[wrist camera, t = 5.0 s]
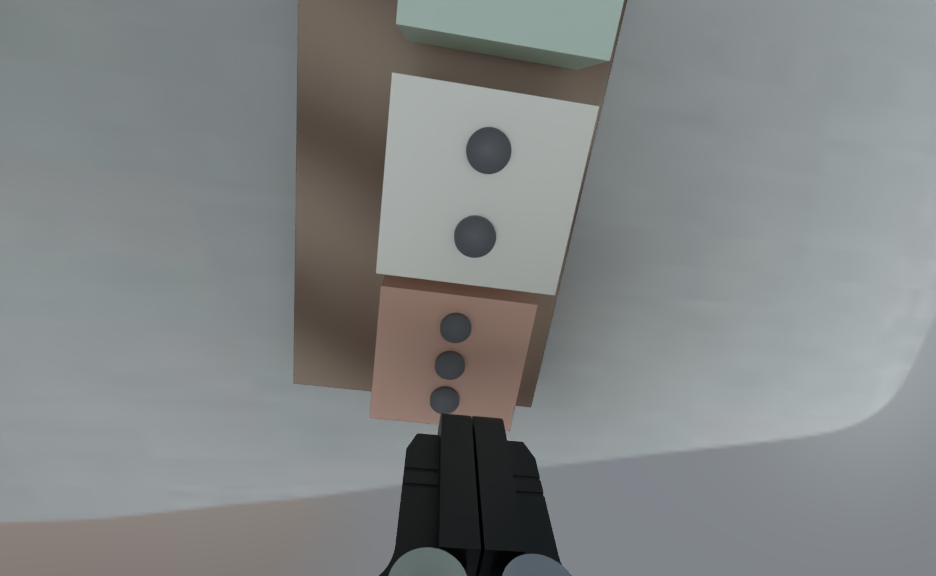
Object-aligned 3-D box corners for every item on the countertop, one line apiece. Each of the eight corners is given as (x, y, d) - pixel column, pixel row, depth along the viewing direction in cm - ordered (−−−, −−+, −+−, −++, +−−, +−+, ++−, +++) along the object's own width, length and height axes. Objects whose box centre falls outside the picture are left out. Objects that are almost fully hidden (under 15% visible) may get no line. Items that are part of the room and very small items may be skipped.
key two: (403, 79, 14) (391, 71, 11) (568, 105, 14) (601, 106, 11) (388, 242, 15) (374, 276, 12) (536, 261, 16) (556, 298, 13)
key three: (391, 256, 17) (379, 288, 14) (523, 273, 18) (538, 307, 15) (380, 371, 19) (368, 421, 16) (500, 384, 19) (510, 435, 16)
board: (313, -201, 13) (300, -229, 12) (645, -130, 14) (662, -150, 13) (302, 367, 20) (293, 383, 19) (526, 391, 21) (530, 407, 20)
